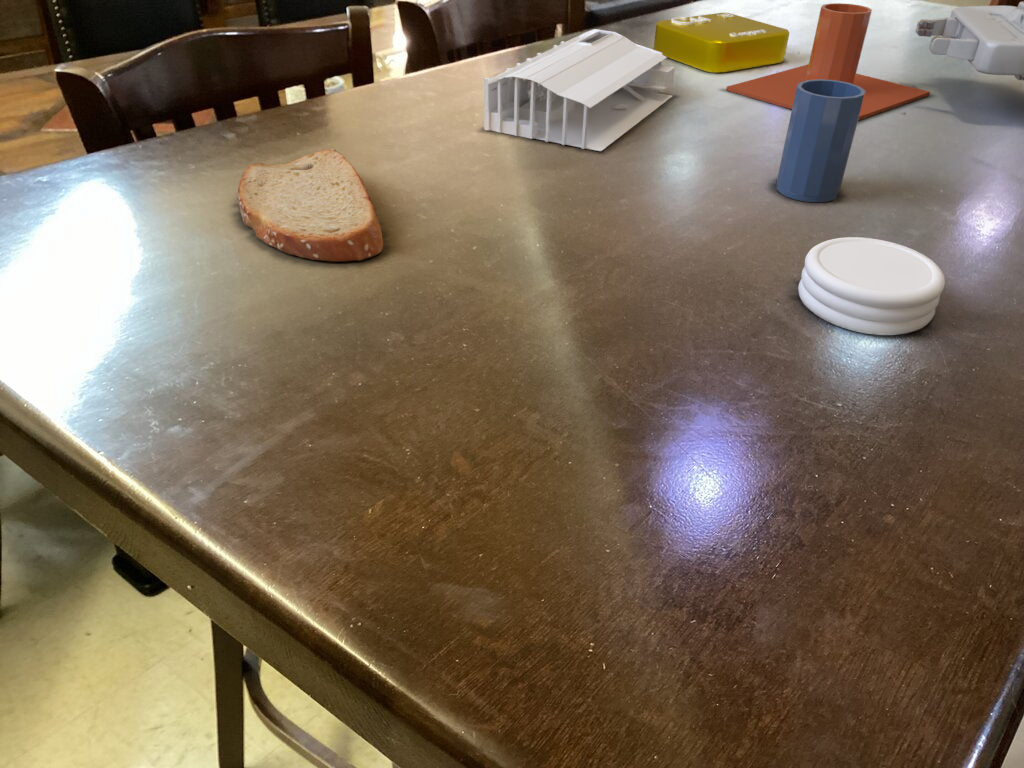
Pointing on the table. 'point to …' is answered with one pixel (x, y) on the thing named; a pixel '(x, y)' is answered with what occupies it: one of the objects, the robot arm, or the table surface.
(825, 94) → the blue cup
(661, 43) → the element tile
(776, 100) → the terracotta mat
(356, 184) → the bread slice
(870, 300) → the coaster
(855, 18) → the terracotta cup
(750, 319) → the table surface
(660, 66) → the model shed
